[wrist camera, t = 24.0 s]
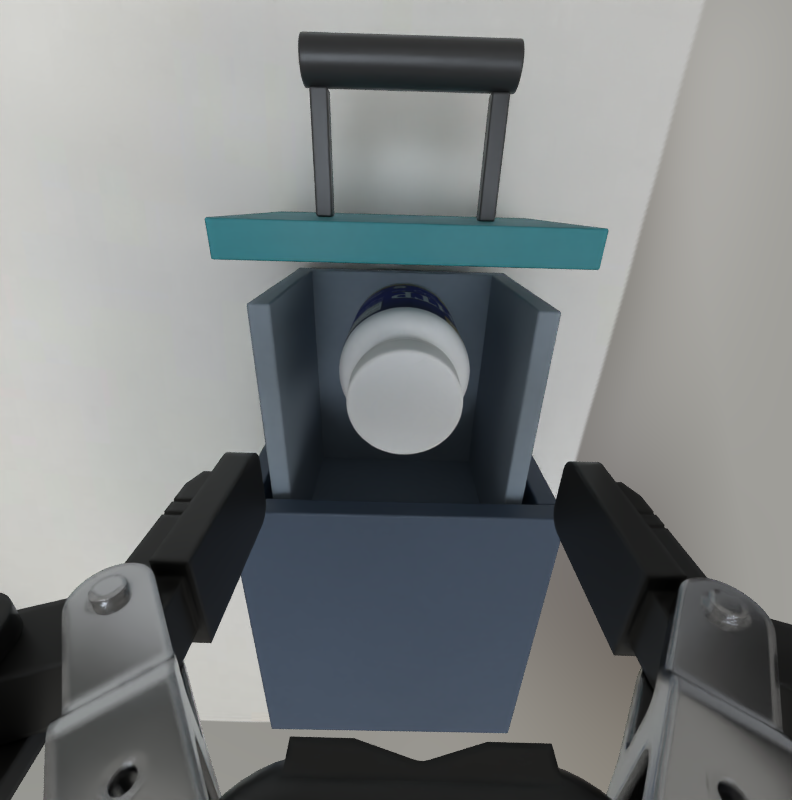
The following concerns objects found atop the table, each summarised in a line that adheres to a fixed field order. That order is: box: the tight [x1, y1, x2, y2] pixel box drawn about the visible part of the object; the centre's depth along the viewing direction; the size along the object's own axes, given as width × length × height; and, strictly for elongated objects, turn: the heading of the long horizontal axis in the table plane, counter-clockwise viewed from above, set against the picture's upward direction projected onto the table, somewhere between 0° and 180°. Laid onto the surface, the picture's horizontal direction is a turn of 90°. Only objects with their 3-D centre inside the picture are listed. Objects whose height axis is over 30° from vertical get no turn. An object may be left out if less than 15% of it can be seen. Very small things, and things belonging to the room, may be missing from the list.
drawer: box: [205, 32, 608, 505], centre depth 18 cm, size 20×12×9 cm, turn 179°
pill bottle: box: [339, 283, 470, 454], centre depth 18 cm, size 5×5×9 cm
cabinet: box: [241, 444, 560, 733], centre depth 24 cm, size 16×13×11 cm
